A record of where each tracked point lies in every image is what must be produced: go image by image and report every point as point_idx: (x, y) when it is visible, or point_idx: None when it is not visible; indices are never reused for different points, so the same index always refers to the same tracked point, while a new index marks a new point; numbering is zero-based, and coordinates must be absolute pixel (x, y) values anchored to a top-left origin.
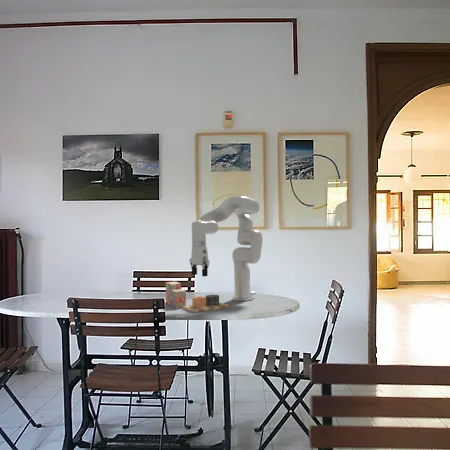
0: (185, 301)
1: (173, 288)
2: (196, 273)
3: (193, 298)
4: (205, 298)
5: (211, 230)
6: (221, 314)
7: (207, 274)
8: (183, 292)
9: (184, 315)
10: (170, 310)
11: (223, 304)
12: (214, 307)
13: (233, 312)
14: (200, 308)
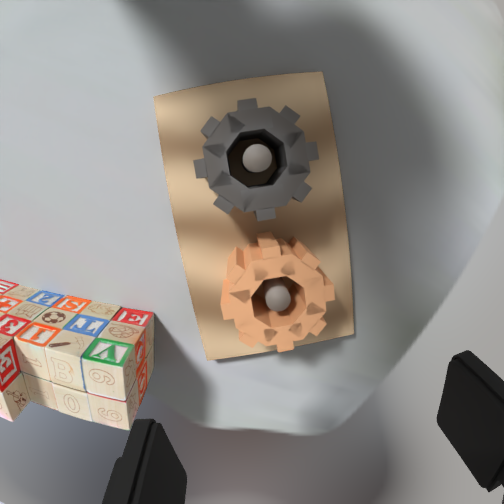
0: (145, 330)
1: (23, 393)
2: (161, 440)
3: (282, 349)
4: (317, 261)
5: None
6: (458, 233)
7: (478, 359)
8: (127, 377)
9: (366, 391)
10: (207, 407)
11: (293, 95)
12: (342, 196)
13: (453, 152)
14: (335, 299)
